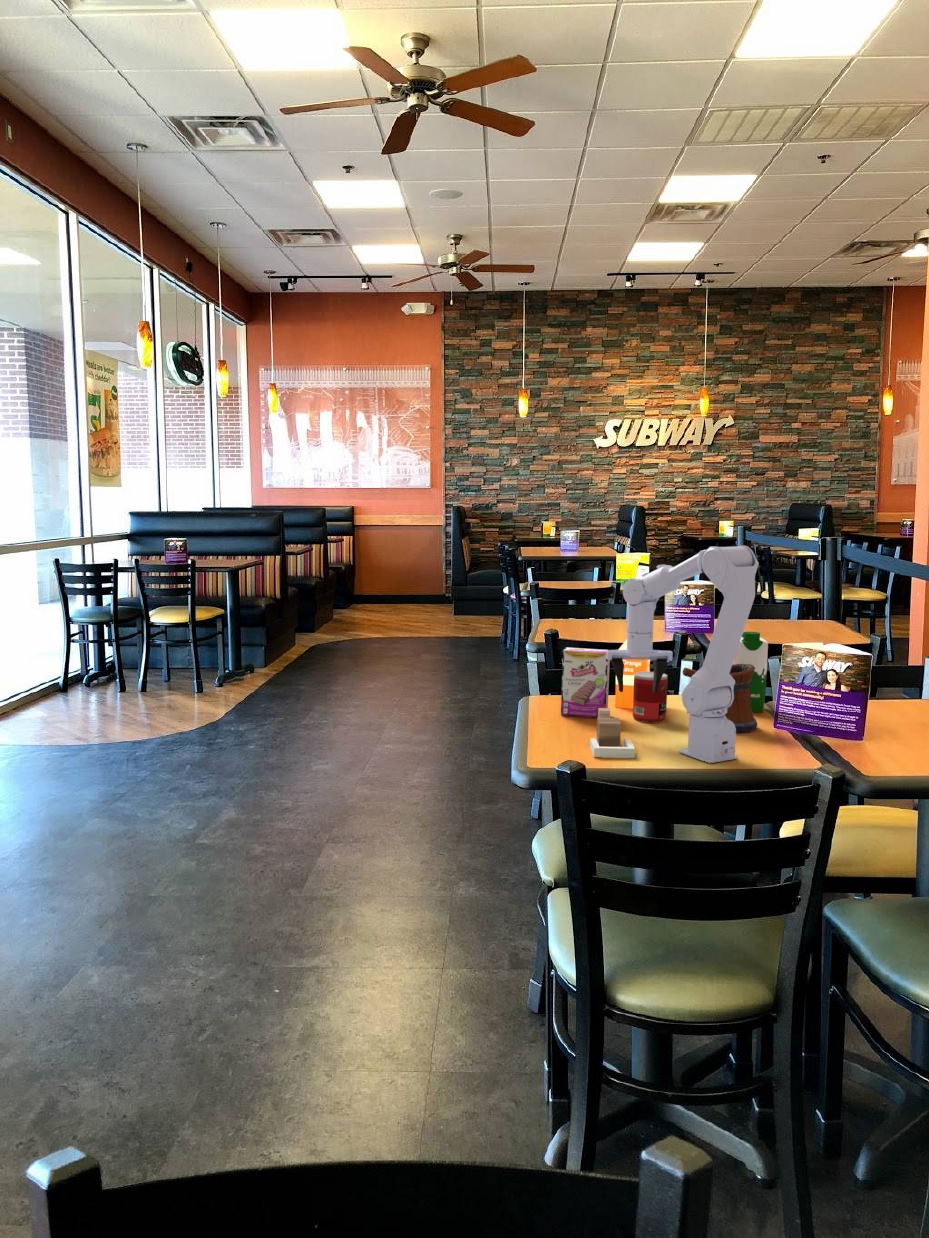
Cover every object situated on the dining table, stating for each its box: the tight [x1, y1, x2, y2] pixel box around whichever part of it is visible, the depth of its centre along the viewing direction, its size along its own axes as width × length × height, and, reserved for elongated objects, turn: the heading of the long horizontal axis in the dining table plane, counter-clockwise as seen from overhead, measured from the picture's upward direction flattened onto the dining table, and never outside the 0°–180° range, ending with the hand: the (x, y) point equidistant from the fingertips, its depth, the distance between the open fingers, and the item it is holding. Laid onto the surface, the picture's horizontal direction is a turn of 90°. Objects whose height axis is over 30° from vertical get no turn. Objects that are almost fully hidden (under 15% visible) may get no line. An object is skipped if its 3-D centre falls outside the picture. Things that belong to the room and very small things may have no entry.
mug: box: [682, 664, 758, 733], centre depth 217 cm, size 18×12×15 cm, turn 96°
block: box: [596, 707, 622, 747], centre depth 205 cm, size 12×4×6 cm, turn 178°
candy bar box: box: [560, 647, 611, 719], centre depth 227 cm, size 11×5×16 cm, turn 76°
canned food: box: [632, 671, 669, 724], centre depth 225 cm, size 8×8×11 cm
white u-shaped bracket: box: [589, 737, 636, 759], centre depth 196 cm, size 8×8×2 cm
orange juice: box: [614, 638, 651, 710], centre depth 239 cm, size 8×9×20 cm
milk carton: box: [732, 631, 769, 714], centre depth 235 cm, size 9×9×20 cm
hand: (638, 691), depth 210 cm, fingers open, 7 cm apart
